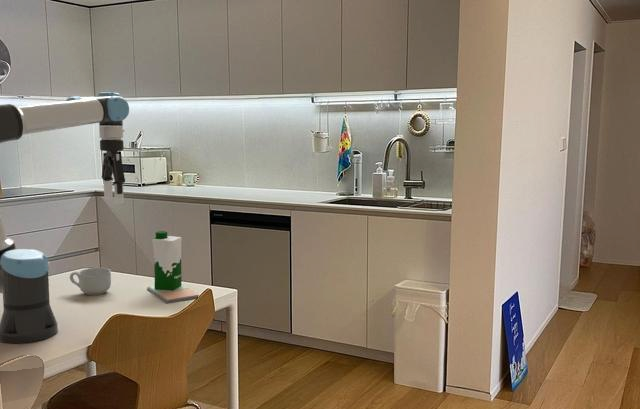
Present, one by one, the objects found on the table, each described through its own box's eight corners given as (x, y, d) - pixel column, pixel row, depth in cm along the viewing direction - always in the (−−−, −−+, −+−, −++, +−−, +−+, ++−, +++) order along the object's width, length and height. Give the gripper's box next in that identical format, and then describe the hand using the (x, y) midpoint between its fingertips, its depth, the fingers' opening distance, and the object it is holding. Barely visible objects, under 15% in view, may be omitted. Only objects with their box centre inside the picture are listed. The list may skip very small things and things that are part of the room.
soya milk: (162, 283, 221) (160, 229, 219) (185, 285, 219) (184, 230, 217) (150, 289, 213) (149, 234, 210) (174, 291, 211) (173, 235, 208)
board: (166, 303, 201) (166, 299, 200) (147, 289, 217) (147, 286, 217) (200, 297, 207) (200, 294, 207) (179, 285, 224) (179, 282, 224)
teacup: (117, 290, 216) (116, 268, 215) (101, 298, 206) (100, 275, 205) (81, 287, 219) (80, 266, 218) (64, 296, 208) (63, 273, 207)
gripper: (133, 139, 195) (135, 204, 198) (113, 138, 216) (115, 197, 219) (110, 139, 191) (112, 206, 194) (91, 138, 212) (93, 198, 214)
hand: (113, 201), depth 206 cm, fingers open, 13 cm apart
